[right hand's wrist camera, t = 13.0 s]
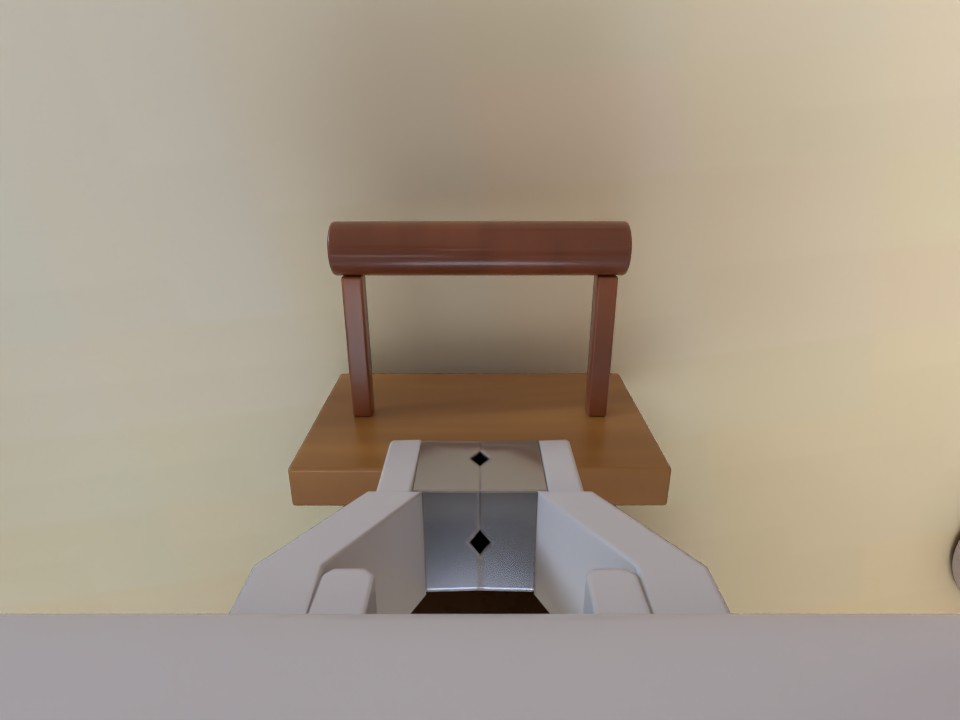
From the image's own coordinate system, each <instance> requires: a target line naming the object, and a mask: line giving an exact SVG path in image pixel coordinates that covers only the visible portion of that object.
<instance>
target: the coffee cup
mask: <svg viewBox="0 0 960 720" xmlns="http://www.w3.org/2000/svg"><path fill="white" fill-rule="evenodd" d="M952 571H953V576H954V580H955V582H956V584H957V586H958V587H959V589H960V540H959V542H958V544H957V546H956V549H955V552H954V556H953V561H952Z"/></svg>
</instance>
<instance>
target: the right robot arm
mask: <svg viewBox="0 0 960 720" xmlns="http://www.w3.org/2000/svg"><path fill="white" fill-rule="evenodd" d="M473 590H485V591H522V592H534V595H535V596H536V597H537V599H538V600H539V601H540V602H541V603H542V605H543V606H544V607H545V608H546V609H547V611H548V612H549V613H550V614H411V612H412V611H413V610H414V609H415V608H416V606H417V605H418V604H419V603H420V602H421V600H422V599H423V598H424V597H425V595H426V592H437V591H473ZM0 720H960V614H731V613H730V611H729V609H728V607H727V605H726V603H725V601H724V599H723V597H722V595H721V593H720V591H719V589H718V587H717V586H716V584H715V582H714V580H713V578H712V576H711V574H710V572H709V570H708V568H707V567H706V566H705V565H703V564H702V563H700V562H699V561H697V560H696V559H694V558H693V557H691V556H690V555H688V554H687V553H685V552H683V551H682V550H680V549H679V548H677V547H676V546H674V545H673V544H671V543H670V542H668V541H667V540H665V539H664V538H662V537H661V536H659V535H658V534H656V533H655V532H653V531H651V530H650V529H648V528H647V527H645V526H644V525H642V524H641V523H639V522H638V521H636V520H635V519H633V518H632V517H630V516H629V515H627V514H626V513H624V512H623V511H621V510H620V509H618V508H616V507H615V506H613V505H612V504H610V503H609V502H607V501H606V500H604V499H603V498H601V497H600V496H598V495H597V494H595V493H594V492H592V491H583V487H582V484H581V480H580V477H579V474H578V470H577V467H576V463H575V460H574V456H573V453H572V449H571V446H570V443H569V441H568V440H545V441H538V440H526V441H484V442H480V441H433V440H423V441H421V440H393V441H392V442H391V443H390V445H389V449H388V452H387V456H386V459H385V463H384V466H383V470H382V473H381V477H380V480H379V484H378V487H377V491H368V492H366V493H365V494H363V495H362V496H360V497H359V498H357V499H356V500H354V501H353V502H351V503H350V504H348V505H346V506H345V507H343V508H342V509H340V510H339V511H337V512H336V513H334V514H333V515H331V516H330V517H328V518H327V519H325V520H324V521H322V522H320V523H319V524H317V525H316V526H314V527H313V528H311V529H310V530H308V531H307V532H305V533H304V534H302V535H301V536H299V537H298V538H296V539H294V540H293V541H291V542H290V543H288V544H287V545H285V546H284V547H282V548H281V549H279V550H278V551H276V552H275V553H273V554H272V555H270V556H268V557H267V558H265V559H264V560H262V561H261V562H259V563H258V564H256V565H255V566H254V567H253V569H252V571H251V572H250V574H249V576H248V578H247V580H246V582H245V584H244V586H243V588H242V590H241V592H240V594H239V596H238V597H237V599H236V601H235V603H234V605H233V607H232V609H231V611H230V613H229V614H0Z"/></svg>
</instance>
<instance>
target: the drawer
mask: <svg viewBox="0 0 960 720" xmlns="http://www.w3.org/2000/svg"><path fill="white" fill-rule="evenodd" d="M327 249H328V259H329V264H330V267H331V270H332V272H333V274H335V275H343V276H342V278H341V282H342V294H343V305H344V316H345V328H346V339H347V351H348V362H349V374H341V375H340V377H339V379H338V381H337V382H336V384H335V386H334V388H333V390H332V391H331V393H330V395H329V397H328V399H327V400H326V402H325V404H324V406H323V408H322V409H321V411H320V413H319V415H318V417H317V418H316V420H315V422H314V424H313V426H312V427H311V429H310V431H309V433H308V435H307V436H306V438H305V440H304V442H303V444H302V445H301V447H300V449H299V451H298V452H297V454H296V456H295V458H294V460H293V461H292V463H291V465H290V467H289V469H288V472H289V479H290V487H291V494H292V501H293V504H294V505H348V504H350V503H351V502H353V501H354V500H356V499H357V498H359V497H360V496H362V495H363V494H365V493H366V492H368V491H377V487H378V484H379V480H380V477H381V473H382V470H383V466H384V463H385V459H386V456H387V452H388V449H389V445H390V443H391V442H392V441H393V440H421V441H423V440H433V441H480V442H484V441H526V440H538V441H545V440H568V441H569V443H570V446H571V449H572V453H573V456H574V460H575V463H576V467H577V470H578V474H579V477H580V480H581V484H582V487H583V491H592V492H594V493H595V494H597V495H598V496H600V497H601V498H603V499H604V500H606V501H607V502H609V503H610V504H612V505H666V503H667V497H668V490H669V482H670V475H671V468H670V466H669V464H668V462H667V461H666V459H665V457H664V455H663V453H662V452H661V450H660V448H659V446H658V444H657V443H656V441H655V439H654V437H653V435H652V434H651V432H650V430H649V428H648V426H647V425H646V423H645V421H644V419H643V417H642V416H641V414H640V412H639V410H638V408H637V407H636V405H635V403H634V401H633V399H632V398H631V396H630V394H629V392H628V390H627V389H626V387H625V385H624V383H623V381H622V380H621V378H620V376H619V374H610V366H611V355H612V343H613V331H614V320H615V308H616V296H617V285H618V277H617V276H616V275H624V274H626V272H627V270H628V268H629V265H630V260H631V252H632V237H631V230H630V226H629V224H628V223H627V222H625V221H401V222H332V223H331V224H330V227H329V231H328V239H327ZM365 275H594V285H593V299H592V313H591V327H590V341H589V355H588V369H587V374H372V364H371V350H370V337H369V323H368V309H367V295H366V281H365ZM411 614H550V613H549V612H548V611H547V609H546V608H545V607H544V606H543V605H542V603H541V602H540V601H539V600H538V599H537V597H536V596H535V595H534V592H522V591H485V590H473V591H437V592H426V595H425V597H424V598H423V599H422V600H421V602H420V603H419V604H418V605H417V606H416V608H415V609H414V610H413V611H412V612H411Z"/></svg>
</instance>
